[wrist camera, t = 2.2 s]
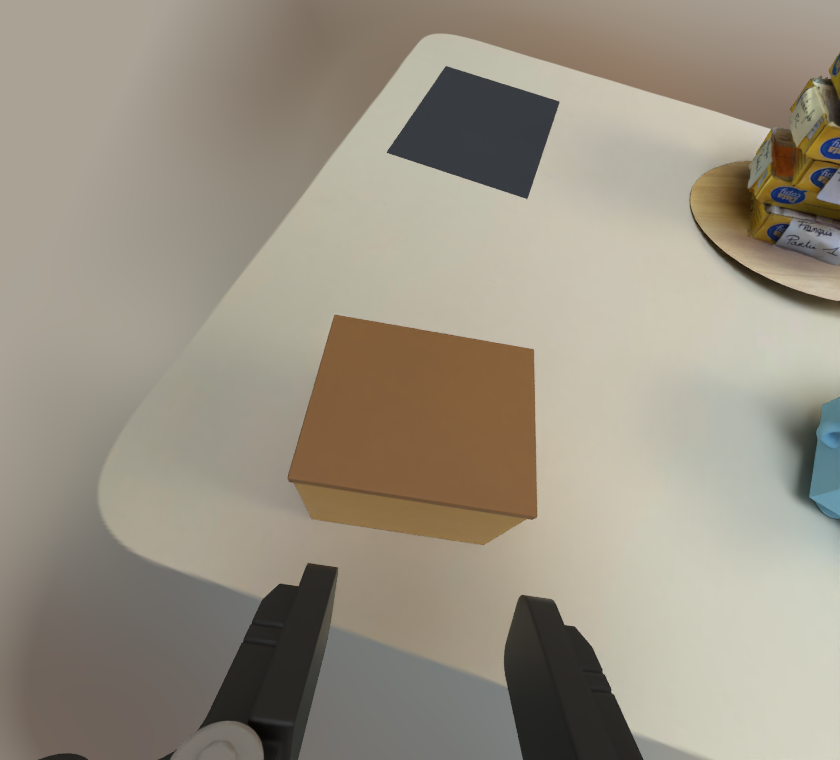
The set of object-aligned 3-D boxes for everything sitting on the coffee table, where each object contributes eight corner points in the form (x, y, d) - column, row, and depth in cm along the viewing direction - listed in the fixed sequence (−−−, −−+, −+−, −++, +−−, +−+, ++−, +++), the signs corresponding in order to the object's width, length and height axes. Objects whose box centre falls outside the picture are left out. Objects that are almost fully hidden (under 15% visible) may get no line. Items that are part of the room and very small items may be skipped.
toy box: (485, 547, 26) (537, 517, 19) (308, 520, 26) (286, 478, 18) (490, 416, 31) (534, 348, 23) (341, 391, 31) (334, 314, 23)
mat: (386, 153, 46) (386, 152, 45) (445, 67, 57) (445, 66, 57) (526, 199, 45) (527, 198, 45) (559, 102, 56) (559, 101, 56)
